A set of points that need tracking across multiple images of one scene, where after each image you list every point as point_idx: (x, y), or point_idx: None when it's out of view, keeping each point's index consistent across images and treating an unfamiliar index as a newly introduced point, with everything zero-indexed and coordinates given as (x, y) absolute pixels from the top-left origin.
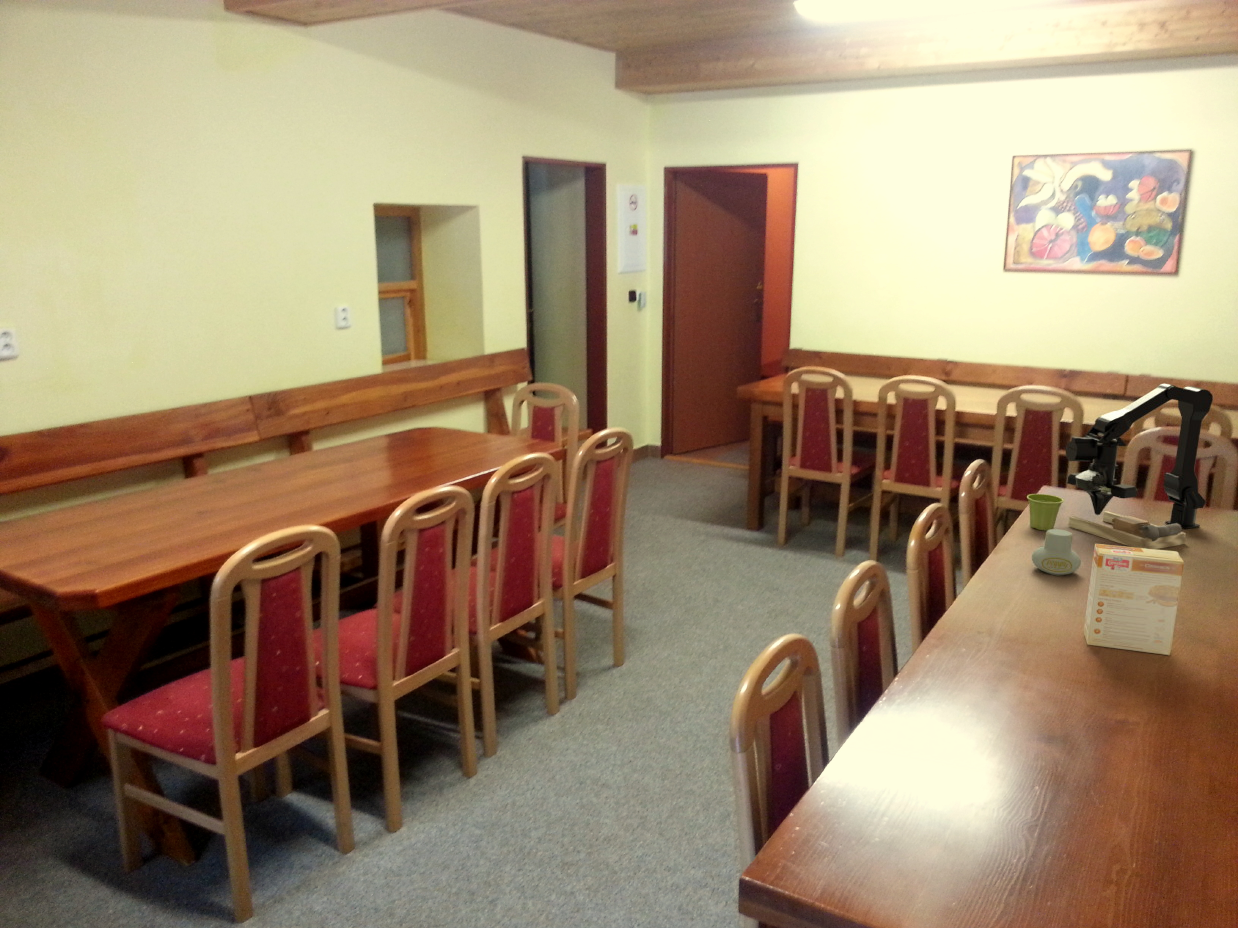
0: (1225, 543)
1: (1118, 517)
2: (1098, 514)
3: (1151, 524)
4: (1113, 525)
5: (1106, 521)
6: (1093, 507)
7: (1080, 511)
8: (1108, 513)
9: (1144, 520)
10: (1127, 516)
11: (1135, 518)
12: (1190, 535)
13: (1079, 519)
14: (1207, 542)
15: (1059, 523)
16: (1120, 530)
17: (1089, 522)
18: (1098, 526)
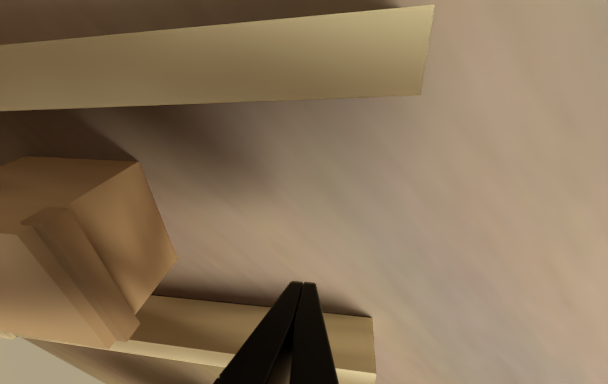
0: (74, 363)
1: (46, 273)
2: (291, 289)
3: (121, 347)
4: (79, 193)
5: (350, 318)
6: (324, 334)
7: (551, 363)
8: (342, 365)
9: (12, 332)
10: (91, 332)
11: (49, 330)
12: (141, 365)
13: (280, 42)
14: (75, 346)
15: (531, 6)
16: (46, 180)
17: (148, 56)
18: (29, 42)
